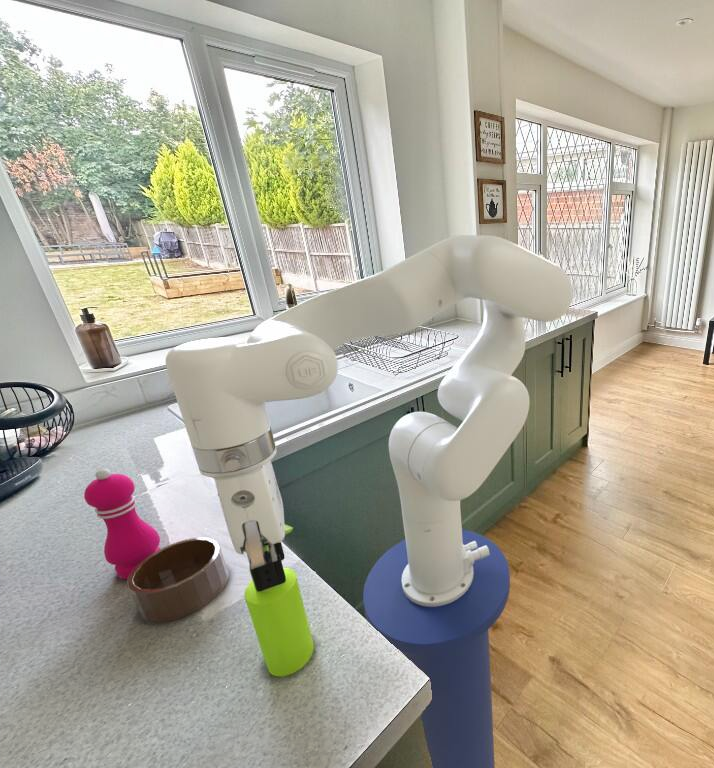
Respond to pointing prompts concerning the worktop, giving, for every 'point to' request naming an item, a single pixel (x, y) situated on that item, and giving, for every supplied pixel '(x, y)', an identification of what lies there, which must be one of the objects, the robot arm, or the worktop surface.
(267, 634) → the soap dispenser
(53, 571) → the worktop surface
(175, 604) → the bowl
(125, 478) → the pepper mill
